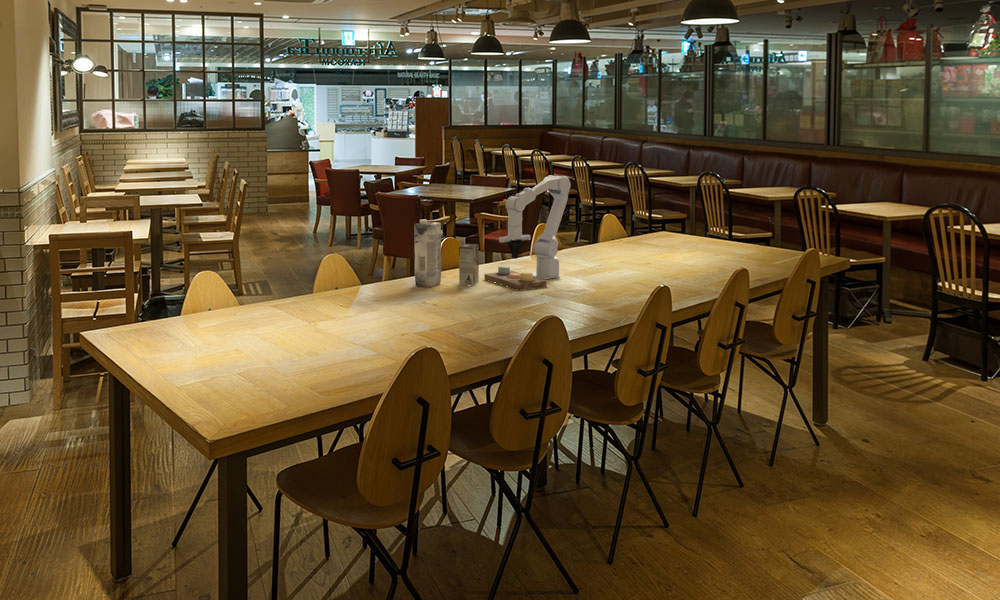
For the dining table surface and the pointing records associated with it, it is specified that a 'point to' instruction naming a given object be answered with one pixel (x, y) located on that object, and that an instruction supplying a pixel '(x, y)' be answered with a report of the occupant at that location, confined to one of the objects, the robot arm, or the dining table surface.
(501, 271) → the button blue
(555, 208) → the robot arm
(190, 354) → the dining table surface
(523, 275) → the button ochre
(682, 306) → the dining table surface
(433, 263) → the juice carton
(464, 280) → the coffee box
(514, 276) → the button terracotta
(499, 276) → the board
